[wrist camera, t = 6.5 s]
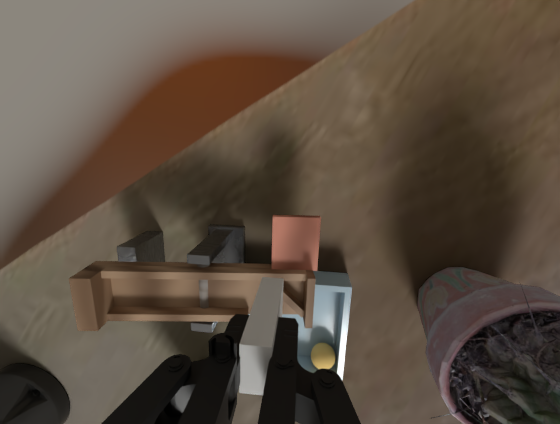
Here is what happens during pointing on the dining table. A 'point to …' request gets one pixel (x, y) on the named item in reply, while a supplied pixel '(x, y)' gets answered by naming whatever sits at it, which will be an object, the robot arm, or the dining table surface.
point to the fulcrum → (218, 256)
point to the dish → (326, 320)
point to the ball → (323, 356)
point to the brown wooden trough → (200, 283)
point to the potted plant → (492, 347)
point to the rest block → (143, 248)
